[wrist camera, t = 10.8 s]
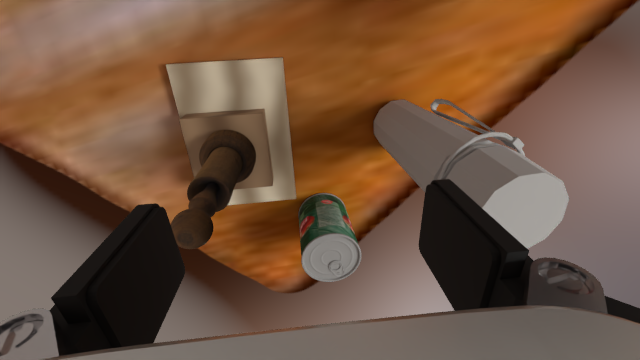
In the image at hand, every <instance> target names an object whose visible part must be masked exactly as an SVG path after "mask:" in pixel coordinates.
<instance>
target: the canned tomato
mask: <svg viewBox="0 0 640 360" xmlns="http://www.w3.org/2000/svg"><path fill="white" fill-rule="evenodd" d="M298 217H299V229H300V242H301V255H302V261H301V262H302V266H303V268H304V270H305V272H306V273H307V274H308V275H309V276H311V277H312V278H314V279H316V280H319V281H325V282H333V281H338V280H341V279H344V278H346V277H348V276H349V275H350V274H352V273H353V272H354V271H355V270H356V268H357V267H358V266H359V263H360V261H361V250H360V247H359V245H358V242H357V240H356V237H355V234H354V231H353V228H352V225H351V222H350V220H349V217H348V214H347V211H346V208H345V205H344V203H343V202H342V201H341V200H340V199H339V198H338V197H337V196H335V195H332V194H328V193H319V194H315V195H312V196H311V197H309V198H307V199H306V200H305V201H304V202H303V203H302V205H301V207H300V209H299V215H298Z"/></svg>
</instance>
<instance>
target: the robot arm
mask: <svg viewBox="0 0 640 360" xmlns="http://www.w3.org/2000/svg"><path fill="white" fill-rule="evenodd" d="M419 250H420V252H421V254H422V256H423V258H424V259H425V261H426V263H427V265H428V266H429V268H430V269H431V271H432V273H433V275H434V276H435V278H436V280H437V281H438V283H439V285H440V286H441V288H442V290H443V292H444V293H445V295H446V297H447V298H448V300H449V302H450V303H451V305H452V307H453V308H454V310H455V311H448V312H437V313H427V314H418V315H409V316H398V317H388V318H379V319H370V320H359V321H350V322H340V323H331V324H322V325H312V326H304V327H295V328H285V329H276V330H267V331H258V332H248V333H239V334H231V335H222V336H213V337H205V338H196V339H187V340H178V341H170V342H162V343H153V342H154V340H155V338H156V336H157V334H158V332H159V329H160V327H161V325H162V323H163V321H164V319H165V316H166V314H167V312H168V310H169V307H170V305H171V303H172V301H173V299H174V297H175V295H176V292H177V290H178V288H179V286H180V284H181V281H182V279H183V277H184V274H185V266H184V263H183V260H182V257H181V254H180V251H179V249H178V245H177V243H176V240H175V237H174V234H173V231H172V228H171V225H170V222H169V219H168V216H167V213H166V211H165V209H164V208H163V207H160V206H159V205H158V204H144V205H138V206H136V207H135V208H134V209H133V210H132V211H131V213H130V214H129V215H128V216H127V217H126V218H125V219H124V220H123V221H122V222H121V223H120V224H119V225H118V227H117V228H116V229H115V230H114V231H113V232H112V233H111V234H110V235H109V236H108V238H106V239H105V240H104V242H103V243H102V244H101V245H100V246H99V247H98V248H97V249H96V250H95V251H94V252H93V254H91V256H90V257H89V258H88V259H87V260H86V261H85V262H84V263H83V264H82V265H81V266H80V267H79V268H78V269H77V271H76V272H75V273H74V274H73V275H72V276H71V277H70V278H69V279H68V280H67V281H66V283H64V285H63V286H62V287H61V288H60V289H59V290H58V291H57V292H56V293H55V294H54V295H53V296H52V297H51V299H52V300H53V302H54V303H55V305H54V306H53V307H52V308H51V310H50V311H49V310H46V309H43V308H42V309H32V310H27V311H23V312H21V313H18V314H16V315H13V316H11V317H9V318H7V319H5V320H3V321H1V322H0V360H640V308H637V307H634V306H631V305H629V304H625V303H623V302H620V301H618V300H615V299H612V298H609V297H606V296H604V291H603V288H602V286H601V283H600V282H599V281H598V280H597V279H596V277H595V276H594V275H592V274H591V273H589V272H588V271H587V270H585V269H583V268H582V267H579V266H578V265H575V264H573V263H571V262H568V261H565V260H560V259H556V258H546V257H545V258H538V259H536V260H534V261H533V260H532V259H531V258H530V257H529V256H528V253H529V250H528V249H527V248H526V247H525V246H524V245H522V244H521V243H520V242H519V241H518V240H517V239H516V238H515V237H514V236H512V235H511V234H510V233H509V232H508V231H507V230H506V229H505V228H504V227H502V226H501V225H500V224H499V223H498V222H497V221H496V220H495V219H494V218H492V217H491V216H490V215H489V214H488V213H487V212H486V211H485V210H484V209H482V208H481V207H480V206H479V205H478V204H477V203H476V202H475V201H474V200H472V199H471V198H470V197H469V196H468V195H467V194H466V193H465V192H464V191H462V190H461V189H460V188H459V187H458V186H457V185H456V184H455V183H454V182H452V181H451V180H450V179H441V180H433V181H432V182H431V184H428V185H427V186H426V191H425V199H424V207H423V214H422V223H421V230H420V238H419Z"/></svg>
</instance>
